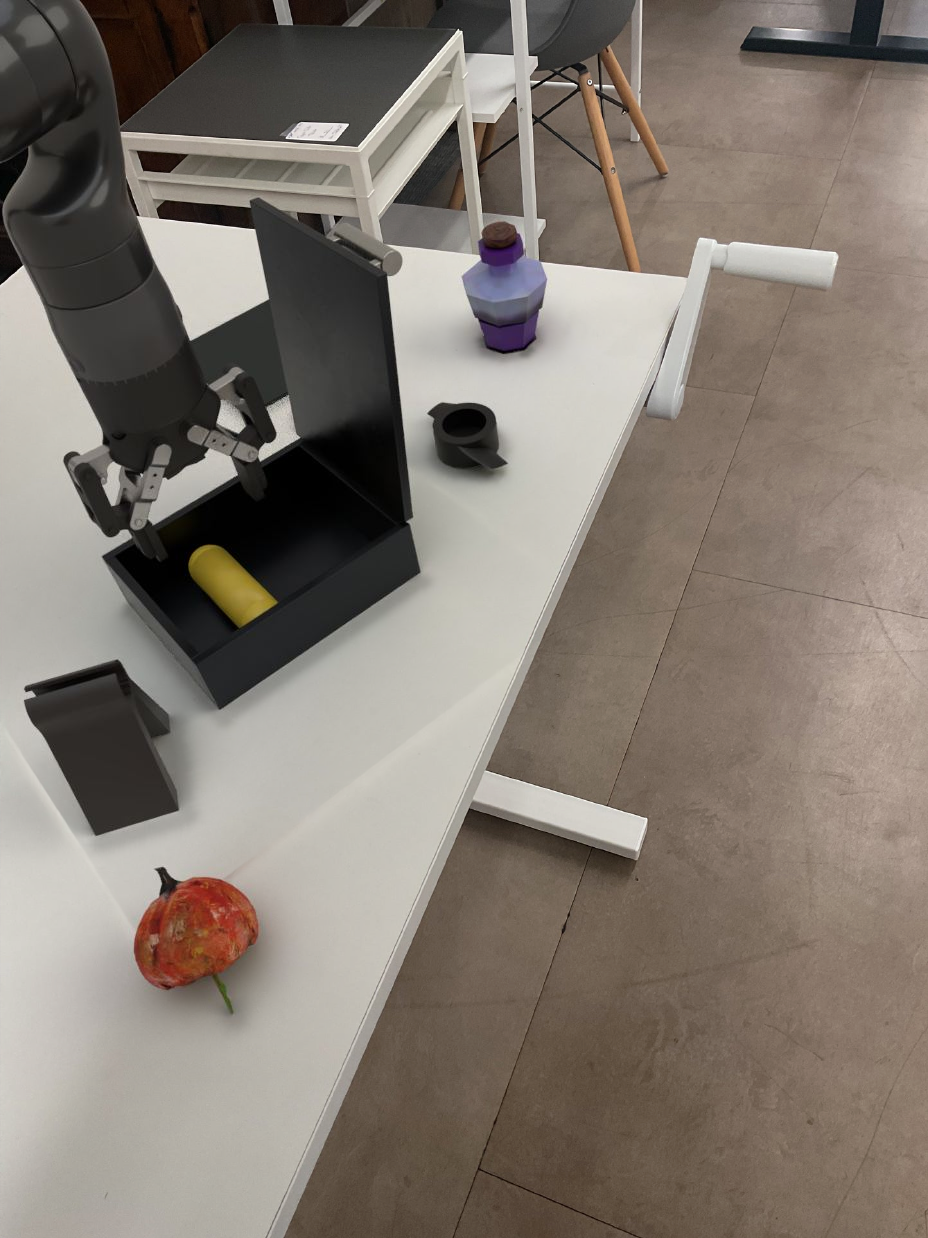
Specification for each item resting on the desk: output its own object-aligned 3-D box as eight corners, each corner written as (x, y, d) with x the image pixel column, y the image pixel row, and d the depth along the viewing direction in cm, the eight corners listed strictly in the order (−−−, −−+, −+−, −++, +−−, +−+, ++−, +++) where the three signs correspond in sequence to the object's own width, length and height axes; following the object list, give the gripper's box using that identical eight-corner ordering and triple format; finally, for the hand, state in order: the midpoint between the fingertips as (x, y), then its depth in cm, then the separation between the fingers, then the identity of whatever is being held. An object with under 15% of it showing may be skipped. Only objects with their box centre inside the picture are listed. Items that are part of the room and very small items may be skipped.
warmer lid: (377, 276, 63) (443, 248, 66) (248, 200, 72) (311, 177, 74) (405, 522, 78) (459, 492, 80) (296, 434, 87) (347, 409, 89)
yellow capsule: (260, 657, 79) (247, 628, 76) (188, 581, 85) (174, 551, 83) (298, 632, 80) (286, 603, 78) (224, 558, 87) (211, 529, 84)
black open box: (222, 715, 77) (196, 666, 72) (130, 606, 85) (100, 555, 81) (422, 578, 84) (410, 524, 79) (317, 490, 92) (301, 436, 87)
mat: (248, 417, 100) (247, 414, 100) (172, 354, 109) (170, 350, 109) (375, 344, 106) (375, 340, 106) (293, 289, 115) (292, 286, 114)
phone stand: (182, 817, 71) (118, 722, 62) (99, 842, 71) (22, 750, 62) (172, 718, 77) (112, 618, 68) (95, 741, 77) (24, 643, 68)
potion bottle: (558, 314, 105) (552, 205, 96) (542, 365, 100) (534, 254, 91) (479, 311, 107) (465, 204, 98) (459, 360, 102) (443, 252, 93)
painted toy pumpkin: (295, 975, 65) (240, 830, 66) (273, 1014, 58) (212, 851, 58) (187, 1017, 65) (133, 872, 66) (152, 1062, 58) (92, 898, 58)
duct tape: (509, 409, 96) (506, 385, 94) (509, 481, 90) (506, 456, 88) (429, 416, 97) (424, 391, 95) (424, 487, 91) (419, 462, 88)
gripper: (193, 271, 68) (260, 454, 80) (-1, 370, 63) (102, 549, 75) (250, 311, 64) (312, 498, 76) (48, 421, 59) (148, 602, 71)
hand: (207, 524), depth 76 cm, fingers open, 8 cm apart
